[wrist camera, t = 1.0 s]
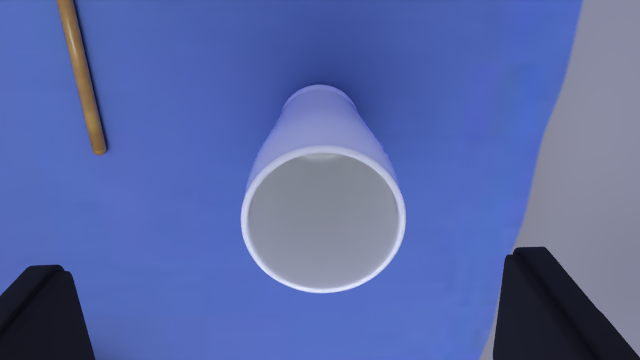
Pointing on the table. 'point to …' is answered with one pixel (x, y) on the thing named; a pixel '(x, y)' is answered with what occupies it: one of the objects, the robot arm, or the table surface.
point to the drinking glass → (322, 197)
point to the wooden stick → (82, 75)
